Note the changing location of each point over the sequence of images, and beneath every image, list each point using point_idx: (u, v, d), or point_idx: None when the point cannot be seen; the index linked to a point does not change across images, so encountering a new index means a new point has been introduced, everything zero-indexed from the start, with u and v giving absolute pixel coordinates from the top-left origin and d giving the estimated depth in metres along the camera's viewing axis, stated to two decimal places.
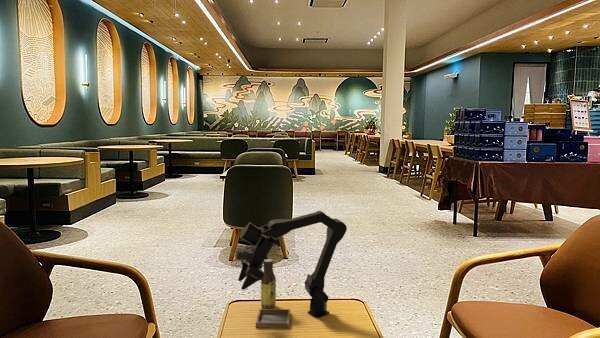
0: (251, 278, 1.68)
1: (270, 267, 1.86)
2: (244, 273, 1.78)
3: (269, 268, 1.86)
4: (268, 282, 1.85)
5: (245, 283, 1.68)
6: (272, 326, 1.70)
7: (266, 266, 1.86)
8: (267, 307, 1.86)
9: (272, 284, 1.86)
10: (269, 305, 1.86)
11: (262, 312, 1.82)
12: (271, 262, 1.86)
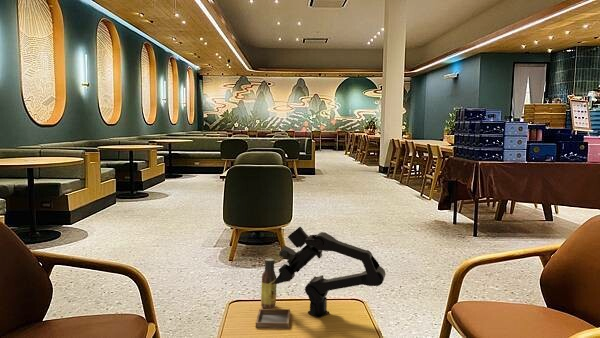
0: (283, 276, 1.79)
1: (271, 266, 1.87)
2: None
3: (270, 267, 1.87)
4: (269, 281, 1.86)
5: (277, 279, 1.80)
6: (272, 326, 1.70)
7: (267, 265, 1.87)
8: (267, 306, 1.86)
9: (273, 283, 1.86)
10: (269, 304, 1.86)
11: (262, 312, 1.82)
12: (272, 261, 1.87)
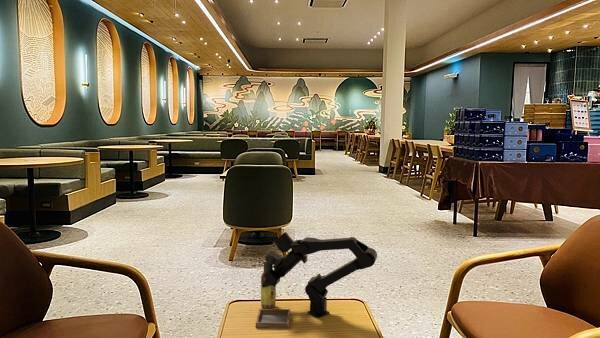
0: None
1: (270, 267, 1.86)
2: None
3: (269, 268, 1.86)
4: None
5: (264, 282, 1.84)
6: (272, 326, 1.70)
7: (266, 266, 1.86)
8: (267, 307, 1.86)
9: None
10: (269, 305, 1.86)
11: (262, 312, 1.82)
12: None
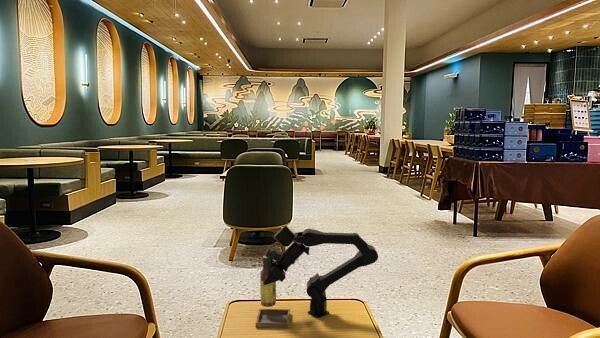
0: (274, 276, 1.77)
1: (271, 263, 1.79)
2: None
3: (270, 264, 1.79)
4: None
5: (267, 279, 1.77)
6: (272, 326, 1.70)
7: (267, 262, 1.79)
8: (270, 305, 1.79)
9: None
10: (272, 302, 1.79)
11: (262, 312, 1.82)
12: None
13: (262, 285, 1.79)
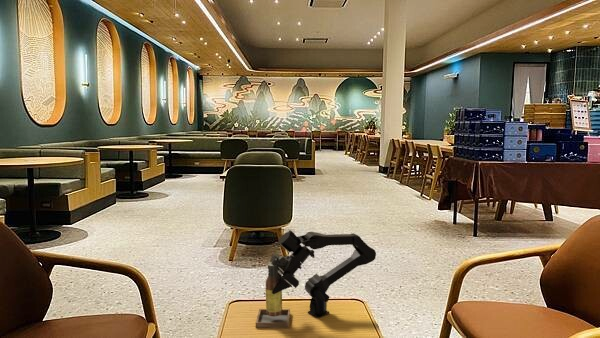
0: (283, 283, 1.71)
1: (277, 271, 1.73)
2: None
3: (277, 272, 1.73)
4: None
5: (277, 287, 1.71)
6: (272, 326, 1.70)
7: (274, 270, 1.72)
8: (278, 314, 1.73)
9: None
10: (280, 311, 1.74)
11: (262, 312, 1.82)
12: (277, 265, 1.74)
13: (270, 294, 1.72)
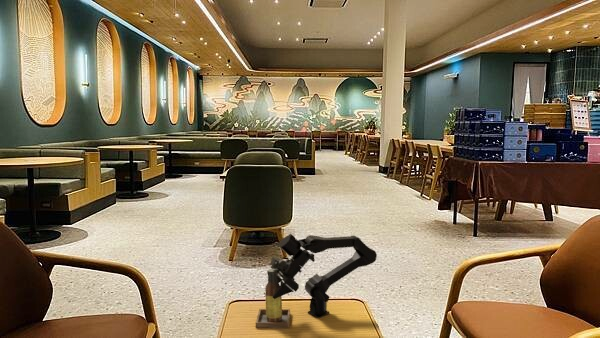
0: (284, 288, 1.70)
1: (277, 276, 1.74)
2: None
3: (276, 278, 1.74)
4: None
5: (278, 292, 1.69)
6: (272, 326, 1.70)
7: (274, 276, 1.73)
8: (278, 320, 1.73)
9: None
10: (280, 317, 1.74)
11: (262, 312, 1.82)
12: (277, 271, 1.74)
13: (270, 300, 1.72)
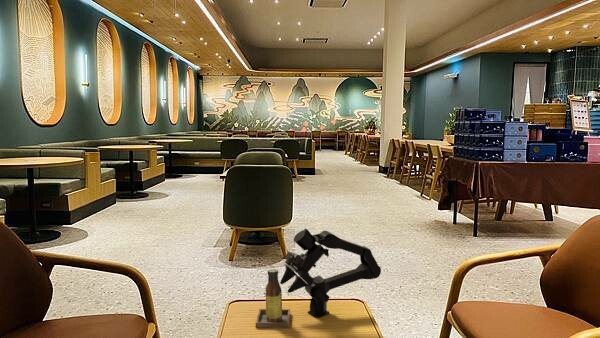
0: (299, 282, 1.72)
1: (277, 277, 1.74)
2: (286, 277, 1.81)
3: (277, 278, 1.74)
4: (278, 293, 1.73)
5: (293, 286, 1.71)
6: (272, 326, 1.70)
7: (274, 277, 1.73)
8: (278, 320, 1.73)
9: (281, 294, 1.74)
10: (280, 317, 1.74)
11: (262, 312, 1.82)
12: (277, 271, 1.74)
13: (270, 301, 1.72)
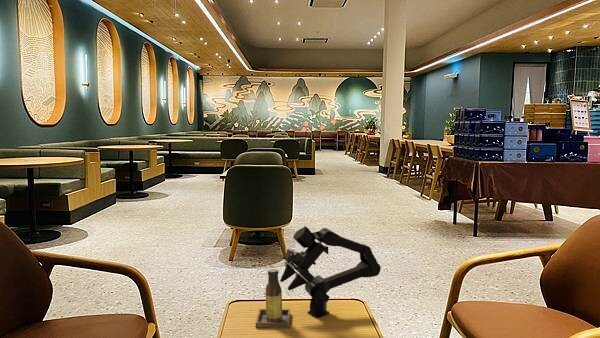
0: (299, 280, 1.72)
1: (277, 277, 1.74)
2: (286, 275, 1.81)
3: (277, 278, 1.74)
4: (278, 293, 1.73)
5: (293, 284, 1.71)
6: (272, 326, 1.70)
7: (274, 277, 1.73)
8: (278, 320, 1.73)
9: (281, 294, 1.74)
10: (280, 317, 1.74)
11: (262, 312, 1.82)
12: None
13: (270, 301, 1.72)
